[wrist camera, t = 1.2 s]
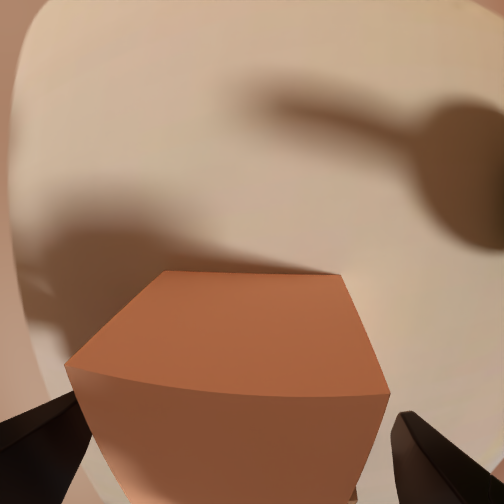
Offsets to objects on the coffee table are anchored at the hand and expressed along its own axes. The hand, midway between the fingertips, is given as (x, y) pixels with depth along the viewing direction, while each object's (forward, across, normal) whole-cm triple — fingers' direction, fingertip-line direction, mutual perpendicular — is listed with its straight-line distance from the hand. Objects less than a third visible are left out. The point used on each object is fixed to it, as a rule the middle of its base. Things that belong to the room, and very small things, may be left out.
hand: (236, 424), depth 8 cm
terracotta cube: (+4, 0, 0) cm, 4 cm away
